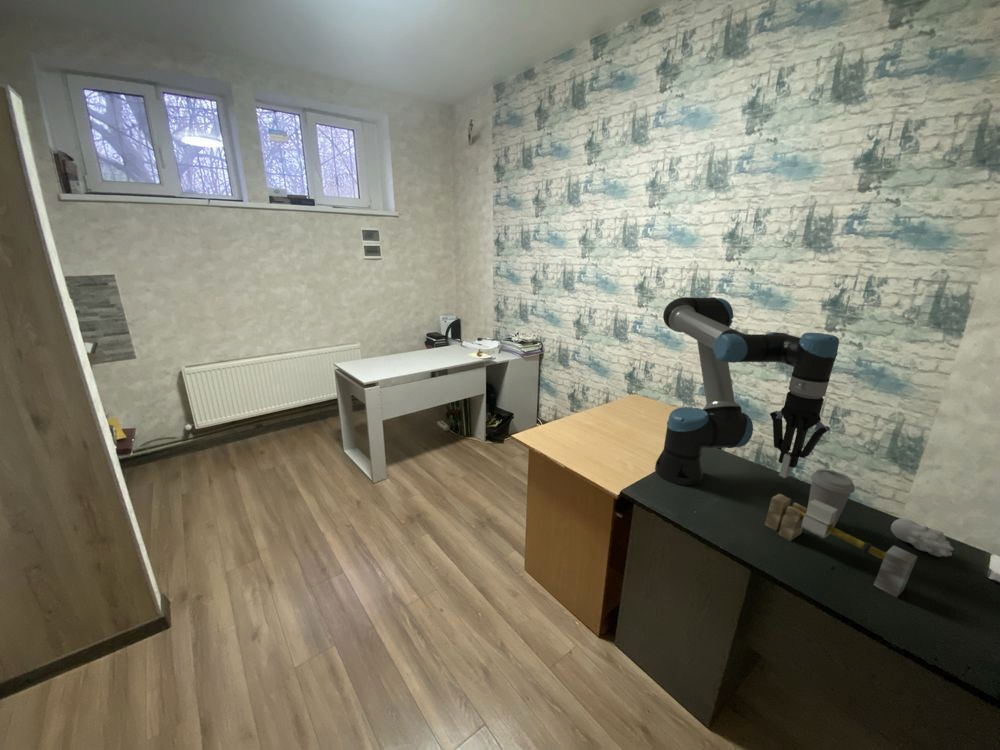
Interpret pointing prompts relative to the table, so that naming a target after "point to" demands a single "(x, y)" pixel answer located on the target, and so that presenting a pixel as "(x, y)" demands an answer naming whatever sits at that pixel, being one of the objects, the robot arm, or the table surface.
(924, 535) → the figurine
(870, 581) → the table surface
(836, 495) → the coffee cup
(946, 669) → the table surface
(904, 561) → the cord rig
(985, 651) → the table surface
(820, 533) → the grey stepped block
